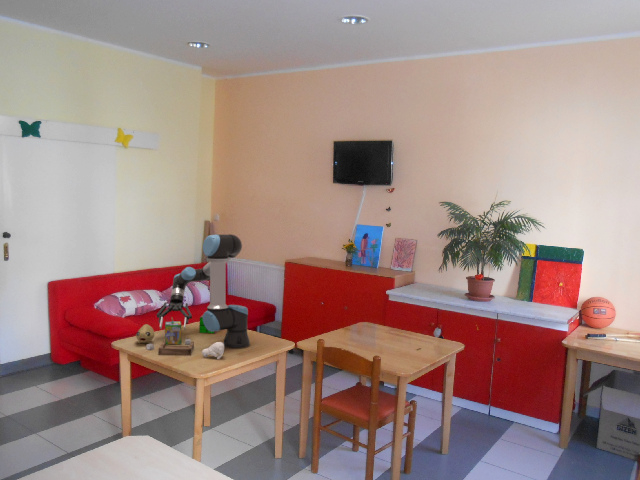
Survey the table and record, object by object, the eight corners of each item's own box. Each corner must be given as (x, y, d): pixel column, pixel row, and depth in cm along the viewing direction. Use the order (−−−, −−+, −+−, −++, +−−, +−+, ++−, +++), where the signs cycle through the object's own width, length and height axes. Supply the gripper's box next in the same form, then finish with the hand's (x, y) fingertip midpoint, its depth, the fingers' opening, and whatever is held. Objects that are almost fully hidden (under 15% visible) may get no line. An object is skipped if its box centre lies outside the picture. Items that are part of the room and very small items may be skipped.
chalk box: (181, 344, 304) (182, 319, 303) (164, 345, 302) (165, 319, 300) (181, 340, 313) (181, 315, 312) (164, 340, 311) (165, 315, 309)
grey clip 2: (190, 343, 307) (190, 339, 307) (190, 344, 304) (190, 340, 304) (185, 343, 307) (185, 339, 307) (184, 344, 304) (185, 340, 304)
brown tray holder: (163, 346, 298) (163, 341, 298) (193, 347, 300) (194, 341, 300) (158, 354, 283) (158, 348, 283) (190, 355, 285) (190, 349, 285)
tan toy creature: (133, 346, 296) (133, 327, 295) (138, 340, 308) (138, 322, 307) (151, 346, 297) (151, 328, 296) (155, 340, 309) (156, 322, 308)
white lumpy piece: (222, 343, 280) (200, 344, 280) (223, 359, 281) (201, 360, 281) (224, 340, 286) (202, 341, 286) (225, 355, 287) (203, 356, 287)
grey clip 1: (150, 348, 295) (151, 343, 294) (154, 349, 293) (154, 344, 293) (146, 349, 292) (146, 344, 292) (149, 350, 290) (149, 345, 290)
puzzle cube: (219, 330, 340) (219, 314, 339) (214, 334, 330) (215, 318, 329) (204, 328, 341) (204, 313, 340) (199, 332, 331) (199, 317, 330)
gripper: (198, 301, 325) (194, 331, 312) (156, 300, 322) (151, 330, 309) (197, 294, 319) (194, 325, 306) (155, 293, 316) (149, 324, 303)
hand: (172, 327), depth 307 cm, fingers open, 13 cm apart
